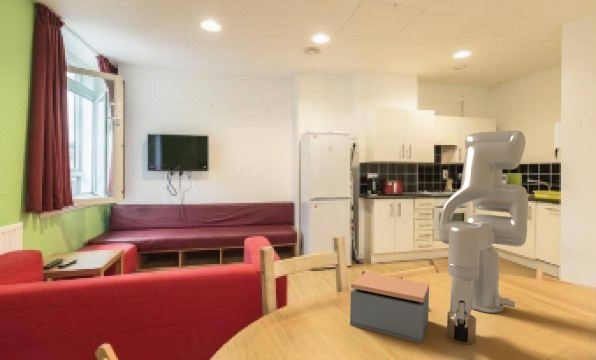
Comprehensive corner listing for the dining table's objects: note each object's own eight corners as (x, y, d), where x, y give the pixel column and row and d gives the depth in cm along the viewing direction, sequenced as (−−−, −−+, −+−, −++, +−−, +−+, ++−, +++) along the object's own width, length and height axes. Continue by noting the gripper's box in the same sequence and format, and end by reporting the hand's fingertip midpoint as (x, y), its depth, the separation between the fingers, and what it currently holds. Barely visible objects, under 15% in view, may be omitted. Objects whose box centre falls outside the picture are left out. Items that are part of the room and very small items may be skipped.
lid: (429, 287, 95) (429, 283, 95) (423, 302, 82) (423, 298, 82) (365, 276, 105) (365, 272, 105) (350, 287, 91) (351, 283, 92)
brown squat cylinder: (475, 335, 87) (475, 314, 87) (475, 347, 81) (476, 324, 81) (447, 329, 90) (448, 308, 90) (446, 340, 84) (446, 318, 84)
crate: (428, 320, 95) (429, 288, 95) (421, 343, 82) (423, 306, 82) (364, 306, 105) (365, 276, 105) (349, 324, 92) (350, 291, 91)
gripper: (449, 261, 95) (447, 318, 95) (446, 277, 79) (444, 345, 80) (477, 264, 91) (475, 324, 91) (480, 282, 76) (477, 354, 76)
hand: (460, 333), depth 86 cm, fingers closed on brown squat cylinder, 7 cm apart
